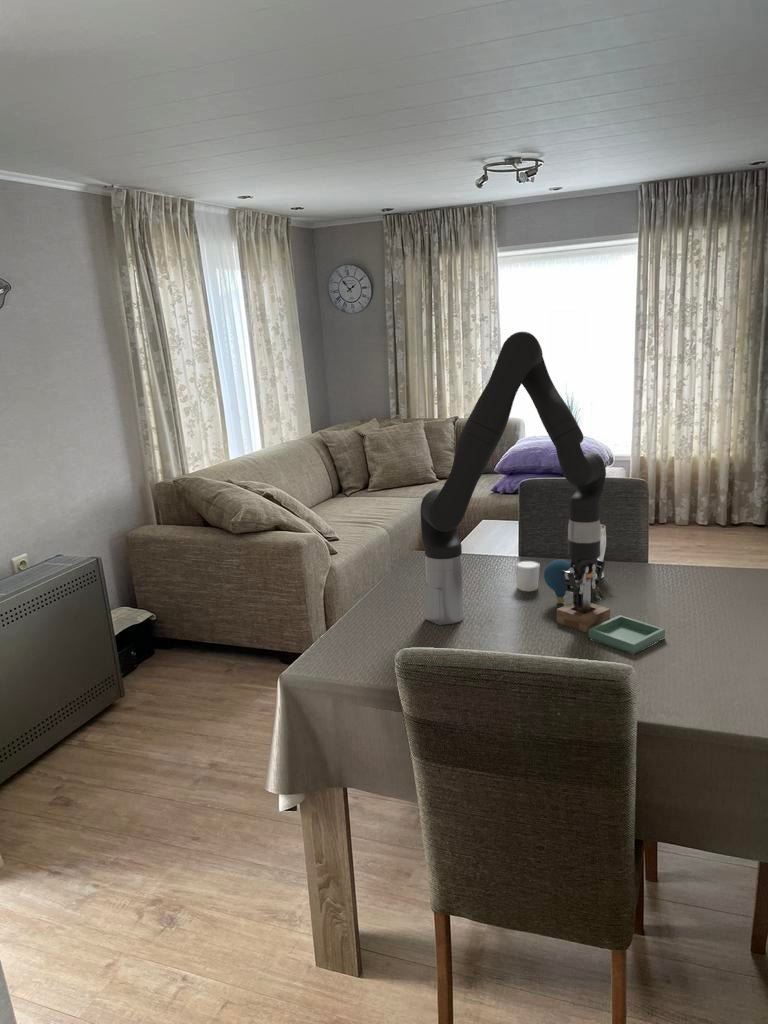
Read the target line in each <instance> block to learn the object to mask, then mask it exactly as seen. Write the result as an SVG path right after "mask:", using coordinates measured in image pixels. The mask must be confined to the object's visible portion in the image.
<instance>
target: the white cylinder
mask: <svg viewBox="0 0 768 1024" xmlns="http://www.w3.org/2000/svg"><path fill="white" fill-rule="evenodd" d="M540 565H541V563H540V562H537V561H534V560H521V561H518V562H516V563H515V564H514V566H515V575H516V585H517V586H516V587H517V589H518V590H519V591H522V592H533V591H537V590H538V588H539V578H540V567H541V566H540Z"/></svg>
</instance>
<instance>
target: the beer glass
mask: <svg viewBox="0 0 768 1024" xmlns="http://www.w3.org/2000/svg"><path fill="white" fill-rule="evenodd" d="M600 527H601V538H600V539H601V540H600V556H599V557H598V558H597V560H602V561H604V557H605V553H606V548H607V533H606V530H607V529H606V527H607V526H606V525H605V524H602V523H600ZM604 576H605V574H604V572H603V573H602V577H601V579H603V578H604ZM596 578H597V574H596Z"/></svg>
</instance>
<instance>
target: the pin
mask: <svg viewBox="0 0 768 1024" xmlns="http://www.w3.org/2000/svg"><path fill="white" fill-rule="evenodd" d="M591 578H593V573H591V572H590V573H587V575H586V584H584V587H583V592H582V593H583V607H581V608H578V607H576V611H577V612H580V613H583V614H586V613H589V612H590V609H591ZM581 579H582V578H581ZM581 579H579V578H577V580H580V581H581ZM577 588H579V584H577Z"/></svg>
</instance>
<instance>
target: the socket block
mask: <svg viewBox="0 0 768 1024" xmlns="http://www.w3.org/2000/svg"><path fill="white" fill-rule="evenodd" d="M610 619H611V608H608V607H605V606H602V605H599V604H596V603H594V602H593V603H591V609H590V612H589V613H586V614H583V613H580V612H577V611H576V607H575V606H574V604H573V602H570V603H568V604H566V605H563V606H561V607H559V608H556V623H558V624H561V625H563V626H565V627H569V628H571V629H574V628H575V630H577V631H580V632H583V633H586V632H587V633H589V629H590V628H592V627H594V626H597V625H599V624H601V623H603V622H606V621H608V620H610Z"/></svg>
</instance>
